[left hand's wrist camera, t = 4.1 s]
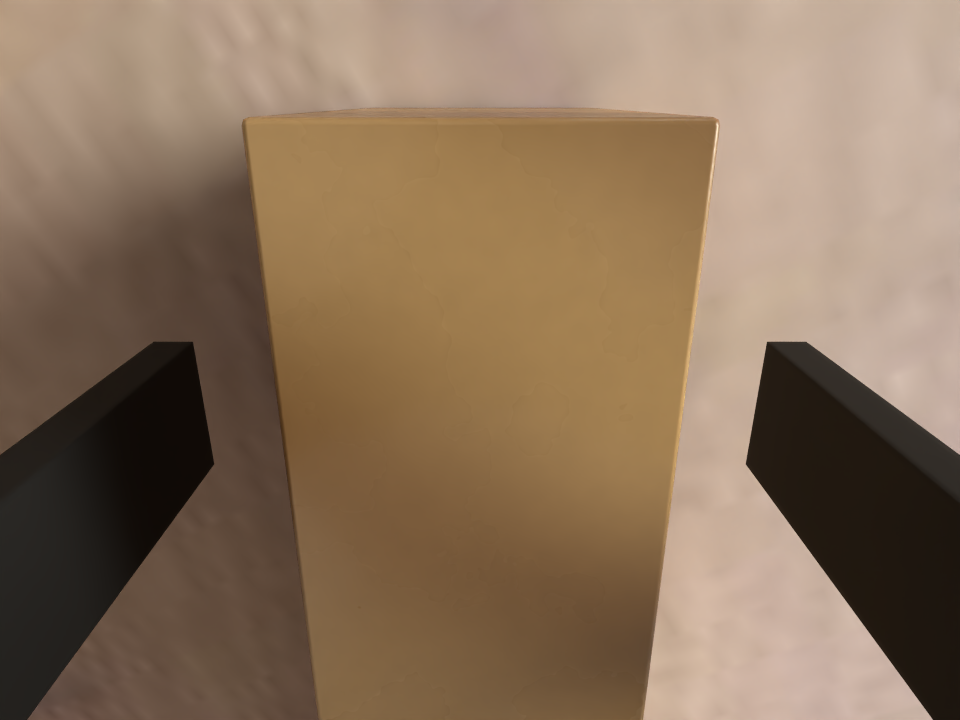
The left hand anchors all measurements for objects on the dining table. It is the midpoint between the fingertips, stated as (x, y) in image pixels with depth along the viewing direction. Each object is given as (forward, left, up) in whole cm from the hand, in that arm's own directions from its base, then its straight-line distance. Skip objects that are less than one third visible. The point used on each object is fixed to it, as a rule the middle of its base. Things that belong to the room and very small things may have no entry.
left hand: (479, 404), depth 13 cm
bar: (+21, 0, -2) cm, 21 cm away
